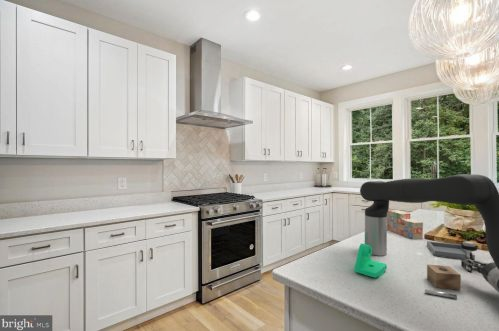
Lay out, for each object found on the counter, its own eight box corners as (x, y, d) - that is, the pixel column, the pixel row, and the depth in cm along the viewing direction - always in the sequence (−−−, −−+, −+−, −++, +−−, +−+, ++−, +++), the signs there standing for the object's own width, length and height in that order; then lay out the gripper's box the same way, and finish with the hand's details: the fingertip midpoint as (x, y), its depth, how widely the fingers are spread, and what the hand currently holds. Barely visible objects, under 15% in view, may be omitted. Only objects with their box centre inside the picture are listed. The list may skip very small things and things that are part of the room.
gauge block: (436, 287, 85) (436, 272, 85) (427, 277, 92) (427, 264, 91) (460, 289, 83) (460, 274, 83) (449, 280, 90) (449, 266, 90)
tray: (434, 256, 112) (434, 250, 112) (427, 245, 126) (427, 241, 126) (474, 261, 107) (474, 255, 107) (462, 249, 120) (462, 244, 120)
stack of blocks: (423, 239, 137) (423, 216, 137) (412, 239, 137) (412, 217, 136) (395, 228, 159) (395, 209, 158) (386, 229, 158) (386, 209, 158)
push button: (475, 272, 96) (475, 246, 96) (457, 267, 100) (458, 242, 100) (478, 267, 100) (479, 242, 100) (461, 263, 104) (462, 239, 104)
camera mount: (375, 281, 90) (375, 252, 90) (354, 274, 95) (354, 247, 95) (387, 270, 98) (387, 244, 98) (367, 265, 104) (367, 240, 103)
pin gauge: (425, 294, 80) (425, 290, 80) (424, 292, 82) (424, 288, 82) (456, 299, 77) (456, 295, 77) (455, 297, 78) (455, 293, 78)
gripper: (537, 271, 72) (507, 253, 87) (474, 263, 78) (456, 247, 93) (537, 297, 72) (507, 274, 87) (474, 287, 78) (456, 268, 93)
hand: (481, 260), depth 90 cm, fingers open, 8 cm apart
